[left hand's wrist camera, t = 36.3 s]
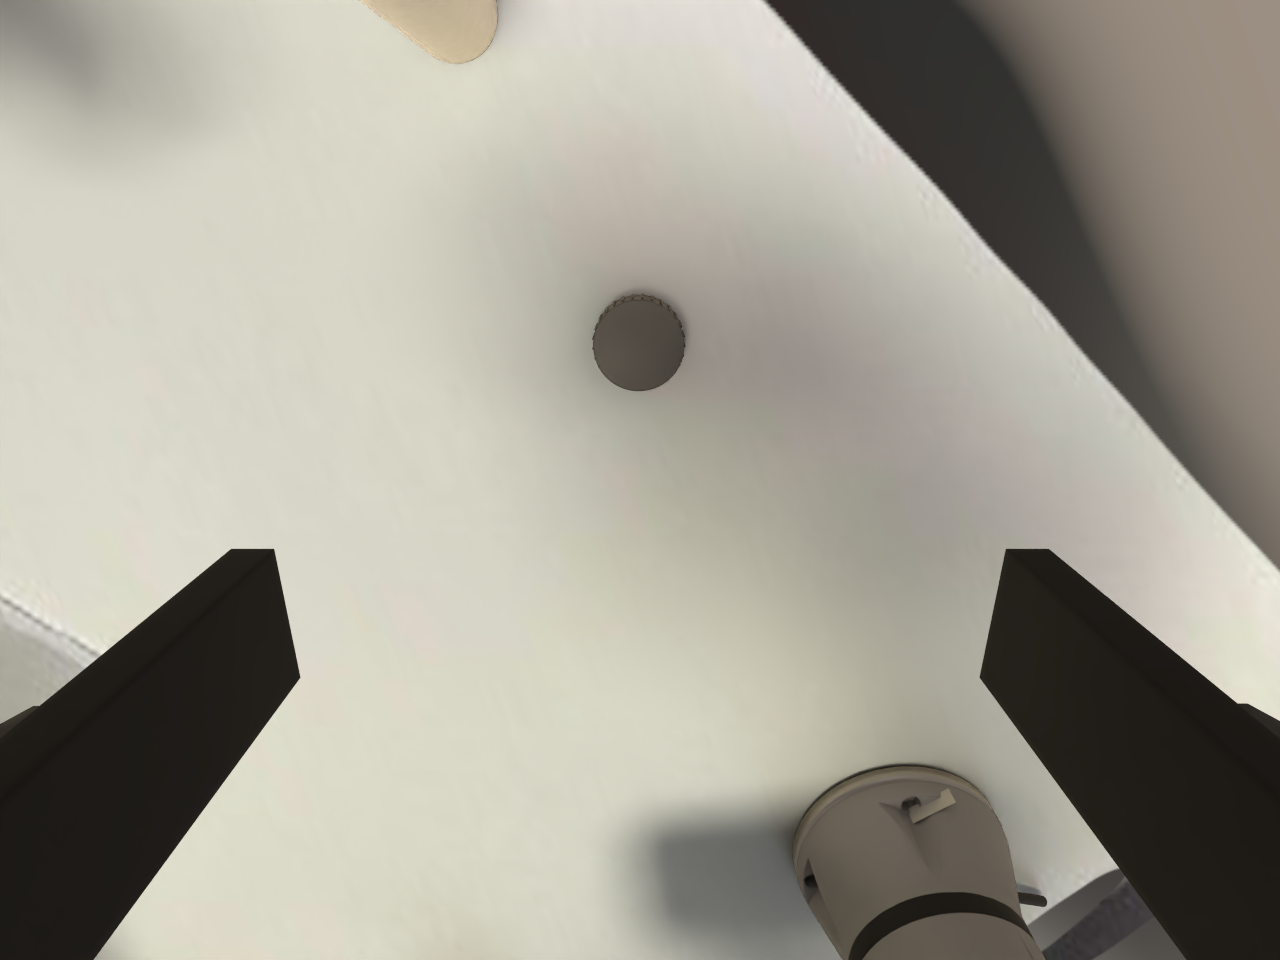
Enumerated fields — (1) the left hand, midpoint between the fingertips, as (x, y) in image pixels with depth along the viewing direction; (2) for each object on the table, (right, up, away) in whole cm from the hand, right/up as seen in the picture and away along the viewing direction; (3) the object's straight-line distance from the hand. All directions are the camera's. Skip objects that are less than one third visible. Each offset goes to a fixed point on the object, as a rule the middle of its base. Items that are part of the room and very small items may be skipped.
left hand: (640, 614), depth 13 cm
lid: (0, +10, +25) cm, 27 cm away
